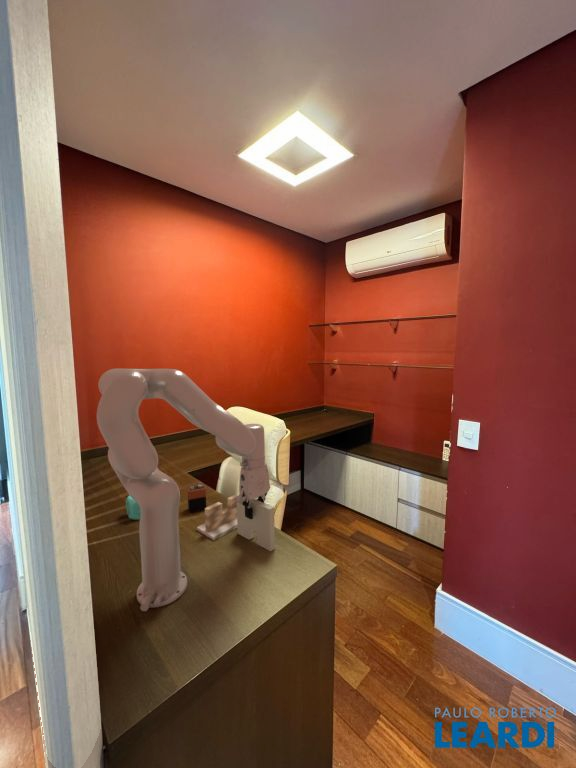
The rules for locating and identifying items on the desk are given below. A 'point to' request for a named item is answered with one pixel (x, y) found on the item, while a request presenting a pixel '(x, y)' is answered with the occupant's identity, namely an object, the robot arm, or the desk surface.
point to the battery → (196, 498)
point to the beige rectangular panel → (257, 523)
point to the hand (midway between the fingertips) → (254, 514)
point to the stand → (220, 519)
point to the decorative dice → (132, 508)
